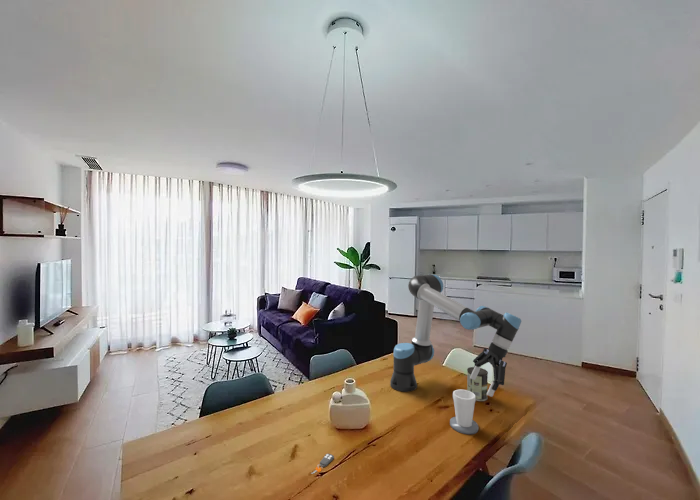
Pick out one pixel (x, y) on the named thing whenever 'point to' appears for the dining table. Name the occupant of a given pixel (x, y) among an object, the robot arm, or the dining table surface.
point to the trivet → (464, 430)
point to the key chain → (324, 462)
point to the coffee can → (478, 384)
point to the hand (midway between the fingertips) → (480, 386)
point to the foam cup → (464, 407)
